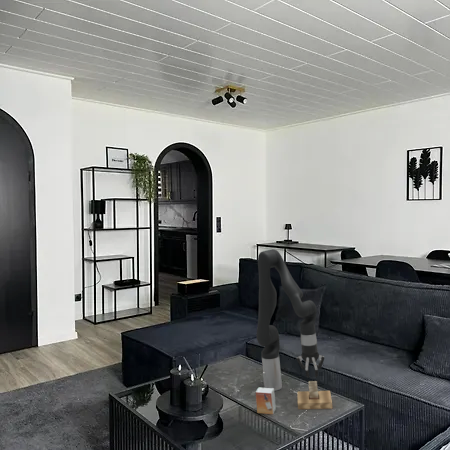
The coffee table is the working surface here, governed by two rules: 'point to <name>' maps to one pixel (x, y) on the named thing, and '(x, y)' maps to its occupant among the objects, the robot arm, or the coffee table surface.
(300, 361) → the robot arm
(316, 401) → the oak board
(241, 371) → the coffee table surface
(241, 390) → the coffee table surface
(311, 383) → the ash peg
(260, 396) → the small box
